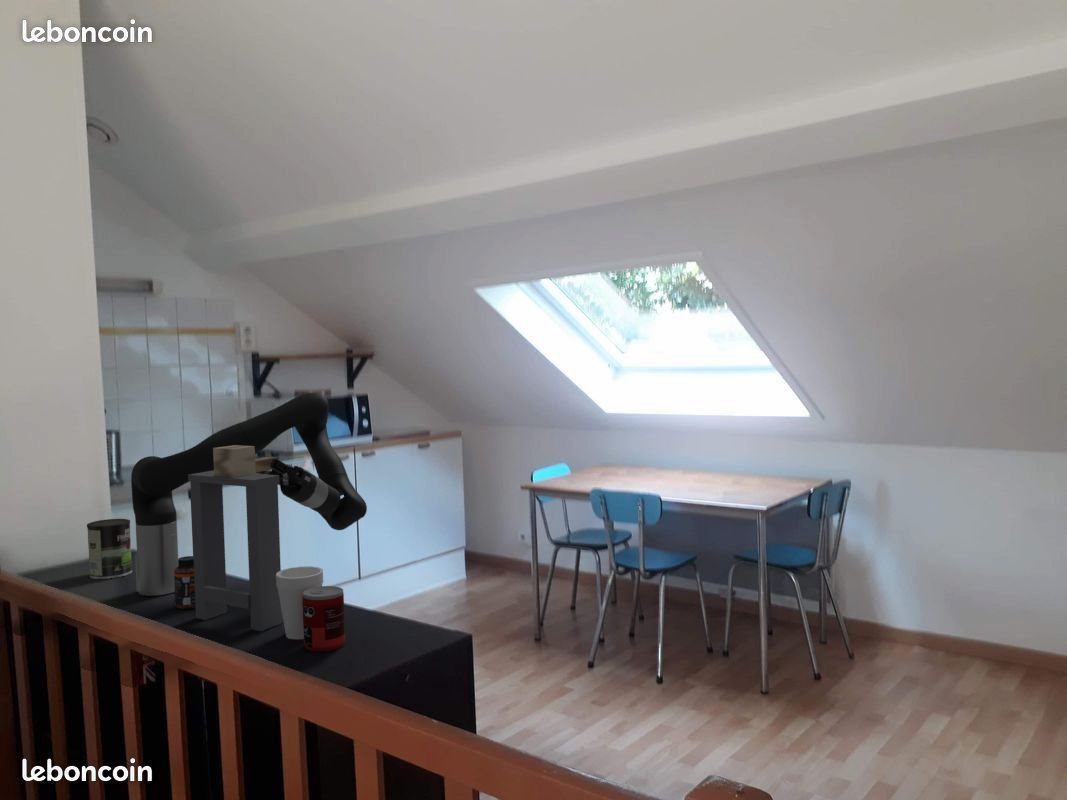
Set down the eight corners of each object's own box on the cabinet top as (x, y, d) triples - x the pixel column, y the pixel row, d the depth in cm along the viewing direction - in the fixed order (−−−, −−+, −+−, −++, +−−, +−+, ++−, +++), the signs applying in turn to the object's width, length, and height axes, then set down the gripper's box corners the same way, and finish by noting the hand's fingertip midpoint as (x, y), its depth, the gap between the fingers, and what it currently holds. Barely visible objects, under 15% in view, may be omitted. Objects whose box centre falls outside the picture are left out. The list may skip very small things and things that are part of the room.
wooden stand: (194, 618, 185) (188, 474, 183) (219, 609, 191) (214, 470, 189) (259, 632, 175) (253, 480, 173) (284, 622, 181) (279, 475, 179)
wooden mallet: (214, 475, 180) (213, 448, 180) (263, 467, 192) (262, 441, 192) (233, 477, 177) (232, 449, 177) (282, 468, 190) (281, 442, 189)
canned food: (307, 639, 170) (305, 586, 169) (347, 638, 171) (346, 584, 170) (300, 653, 162) (298, 597, 162) (342, 651, 163) (340, 595, 162)
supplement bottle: (193, 610, 191) (191, 561, 190) (169, 609, 192) (167, 560, 191) (208, 602, 197) (206, 555, 196) (185, 601, 198) (183, 554, 197)
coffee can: (139, 569, 229) (137, 518, 228) (120, 579, 218) (118, 526, 218) (102, 569, 229) (99, 518, 228) (81, 579, 218) (78, 526, 218)
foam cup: (282, 645, 167) (280, 580, 166) (274, 631, 175) (271, 570, 174) (330, 636, 171) (328, 574, 171) (319, 623, 180) (317, 564, 179)
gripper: (288, 471, 205) (242, 444, 192) (332, 475, 198) (287, 447, 185) (277, 500, 202) (230, 475, 189) (322, 505, 195) (276, 479, 182)
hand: (258, 461), depth 187 cm, fingers open, 8 cm apart
